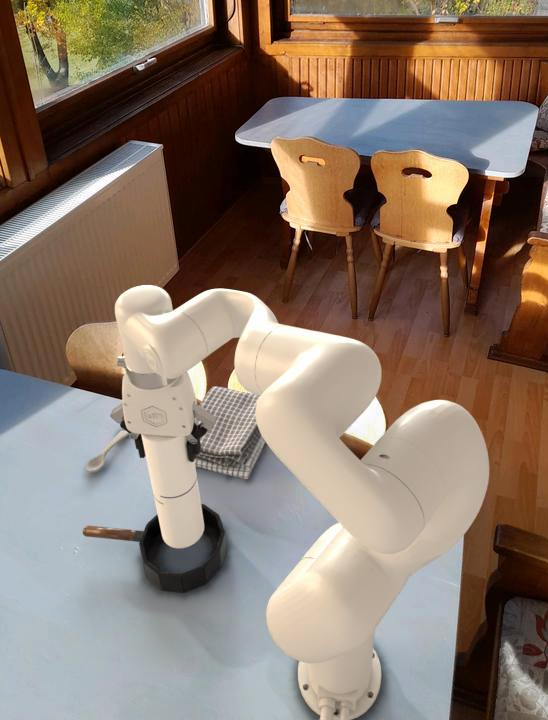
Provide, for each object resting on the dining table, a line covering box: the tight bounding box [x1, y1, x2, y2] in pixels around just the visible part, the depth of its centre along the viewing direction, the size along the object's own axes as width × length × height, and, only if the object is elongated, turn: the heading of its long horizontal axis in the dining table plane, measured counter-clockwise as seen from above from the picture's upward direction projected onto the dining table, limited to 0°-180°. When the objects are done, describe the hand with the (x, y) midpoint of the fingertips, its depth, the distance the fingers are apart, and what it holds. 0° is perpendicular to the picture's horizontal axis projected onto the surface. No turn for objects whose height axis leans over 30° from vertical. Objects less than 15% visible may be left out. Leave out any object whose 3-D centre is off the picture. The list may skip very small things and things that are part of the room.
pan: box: [82, 503, 228, 594], centre depth 117 cm, size 14×25×4 cm, turn 84°
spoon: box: [85, 429, 130, 474], centre depth 136 cm, size 3×12×2 cm, turn 159°
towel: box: [194, 385, 266, 480], centre depth 137 cm, size 15×18×8 cm
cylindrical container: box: [141, 434, 204, 549], centre depth 107 cm, size 7×7×25 cm
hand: (169, 452), depth 104 cm, fingers closed on cylindrical container, 7 cm apart
